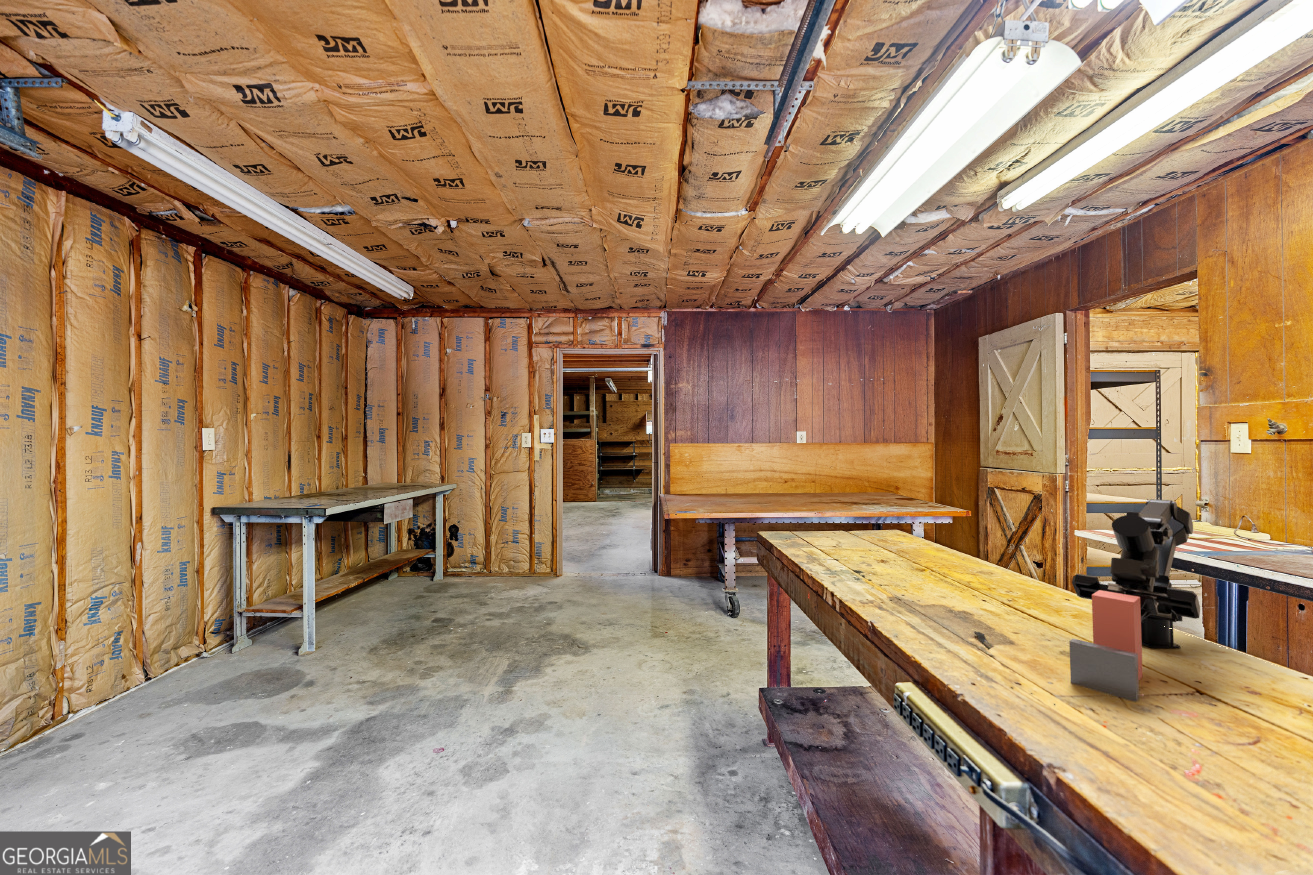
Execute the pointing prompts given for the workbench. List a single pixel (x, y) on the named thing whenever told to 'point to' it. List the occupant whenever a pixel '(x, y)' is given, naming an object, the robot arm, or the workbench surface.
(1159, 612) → the robot arm
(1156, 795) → the workbench surface
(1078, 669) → the plate
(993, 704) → the workbench surface
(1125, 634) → the red block on plate
